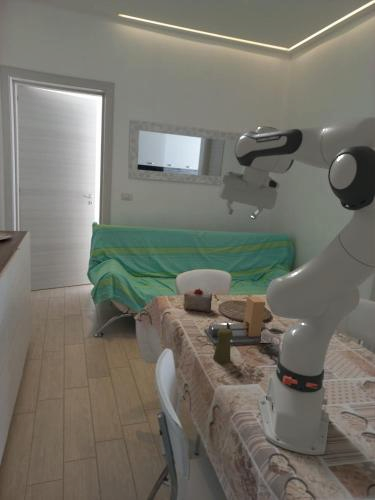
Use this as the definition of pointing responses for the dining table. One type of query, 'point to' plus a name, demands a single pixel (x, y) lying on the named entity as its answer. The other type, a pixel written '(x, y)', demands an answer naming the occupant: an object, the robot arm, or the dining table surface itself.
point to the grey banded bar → (230, 327)
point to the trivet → (238, 310)
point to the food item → (197, 301)
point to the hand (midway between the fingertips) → (241, 216)
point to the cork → (223, 346)
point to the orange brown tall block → (254, 315)
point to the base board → (237, 338)
